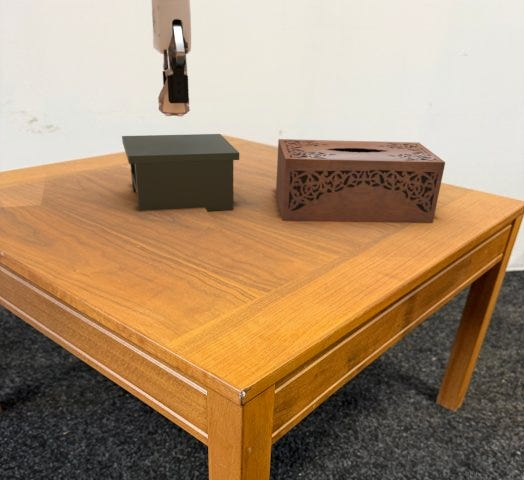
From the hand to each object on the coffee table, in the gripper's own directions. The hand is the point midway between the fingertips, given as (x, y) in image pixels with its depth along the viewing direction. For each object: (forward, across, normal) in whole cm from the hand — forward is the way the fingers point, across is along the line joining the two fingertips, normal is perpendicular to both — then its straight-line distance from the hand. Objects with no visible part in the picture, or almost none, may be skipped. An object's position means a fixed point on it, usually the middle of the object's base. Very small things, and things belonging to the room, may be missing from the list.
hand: (176, 98), depth 91 cm
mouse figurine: (+2, -2, 0) cm, 3 cm away
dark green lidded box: (+17, 0, 0) cm, 17 cm away
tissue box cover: (+17, +10, +29) cm, 35 cm away
